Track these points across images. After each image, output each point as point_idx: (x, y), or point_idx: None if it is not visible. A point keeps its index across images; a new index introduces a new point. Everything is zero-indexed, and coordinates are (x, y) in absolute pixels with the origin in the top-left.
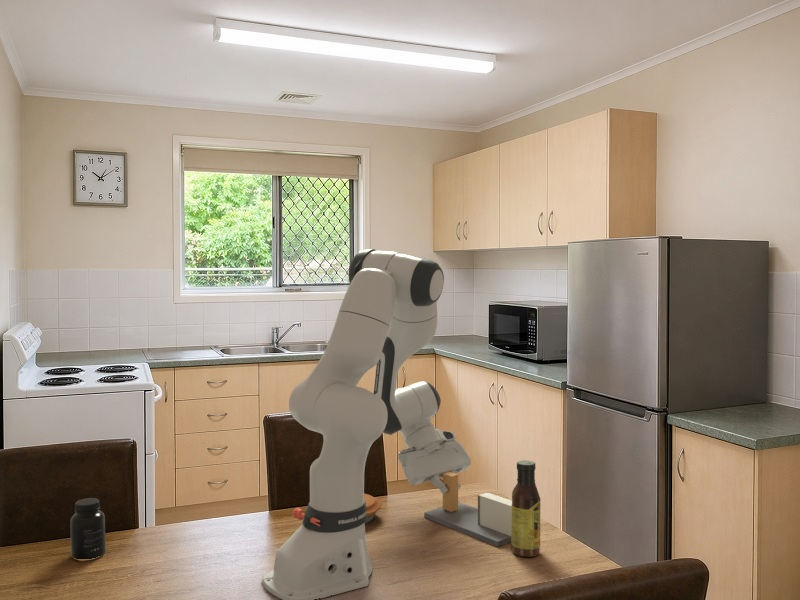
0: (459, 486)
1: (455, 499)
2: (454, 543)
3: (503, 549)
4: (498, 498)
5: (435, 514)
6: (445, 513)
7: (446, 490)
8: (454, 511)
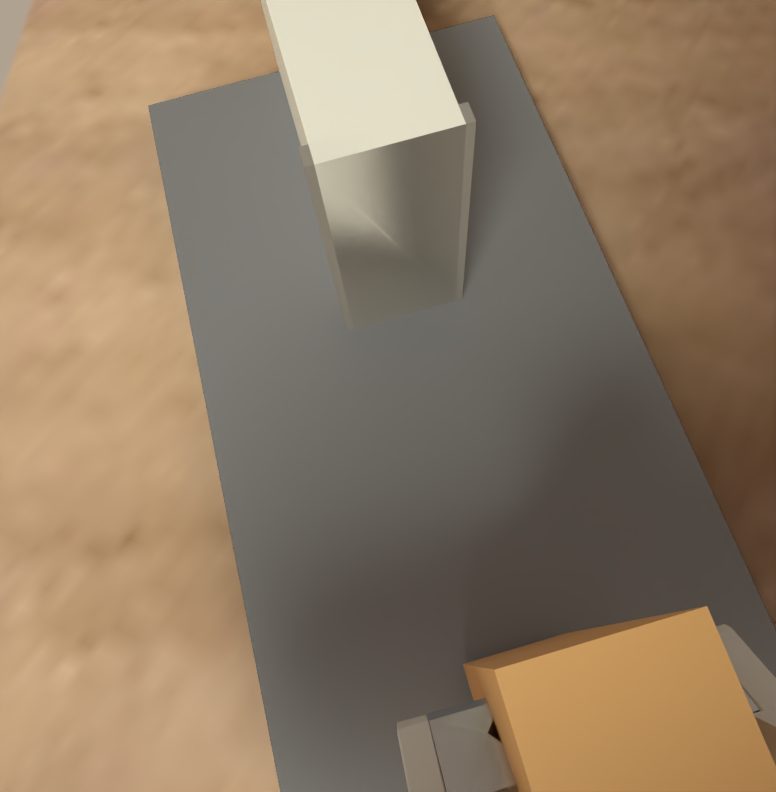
0: (426, 716)
1: (516, 650)
2: (744, 176)
3: (478, 13)
4: None
5: None
6: None
7: None
8: None
